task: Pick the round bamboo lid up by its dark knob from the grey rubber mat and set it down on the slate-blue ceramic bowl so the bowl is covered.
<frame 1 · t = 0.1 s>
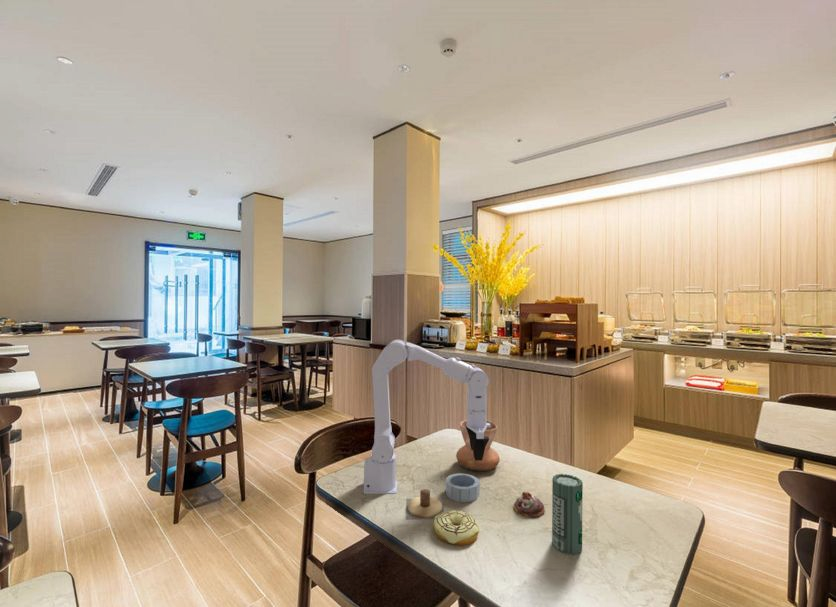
hand: (476, 454, 114), 10 cm above the table, fingers open, 7 cm apart
rubber mat: (425, 509, 102), on the table
pastry: (529, 511, 102), on the table
bamboo lid: (425, 508, 102), resting on rubber mat
can: (566, 546, 87), on the table
decorated donut: (455, 535, 91), on the table
bowl: (462, 494, 110), on the table
ceramic jug: (478, 465, 130), on the table
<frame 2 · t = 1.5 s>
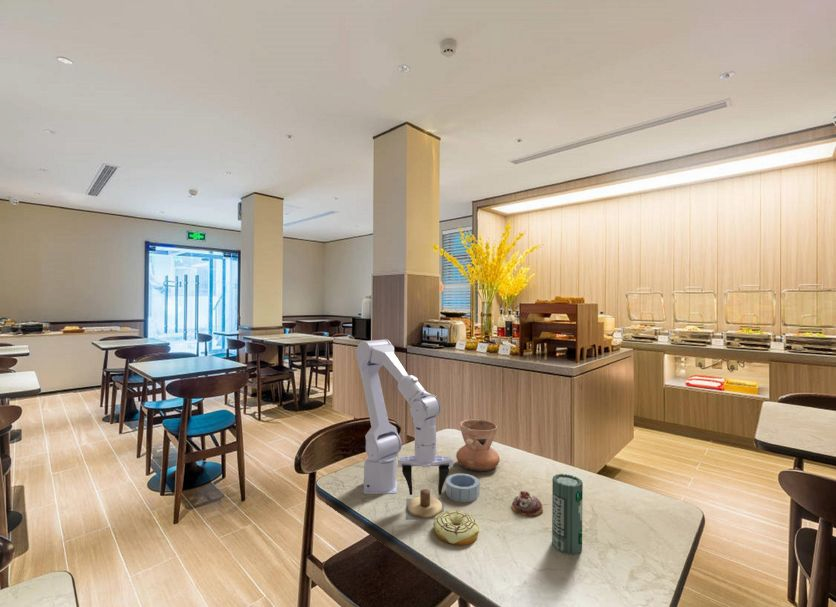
hand: (425, 493, 102), 5 cm above the table, fingers open, 7 cm apart
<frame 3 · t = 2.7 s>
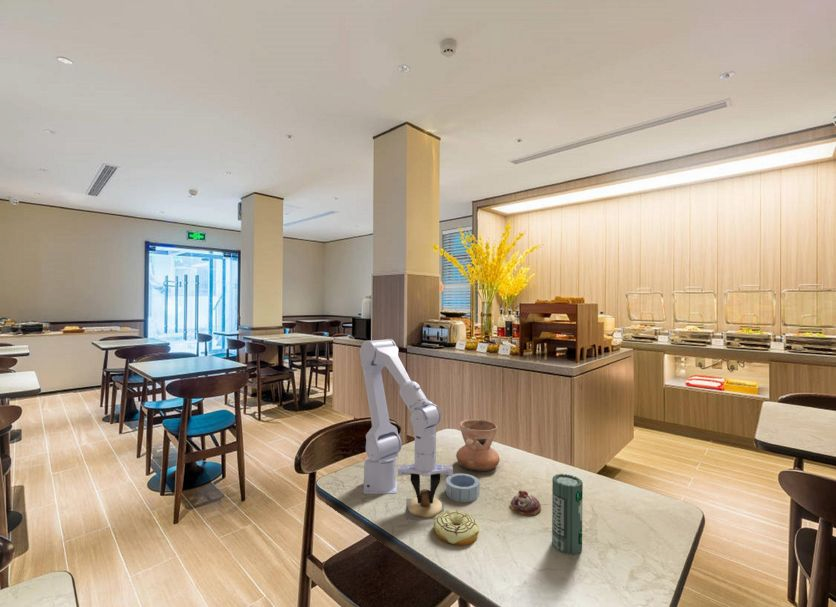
hand: (425, 501, 102), 2 cm above the table, fingers closed on bamboo lid, 3 cm apart
bamboo lid: (425, 508, 102), resting on rubber mat, touching gripper
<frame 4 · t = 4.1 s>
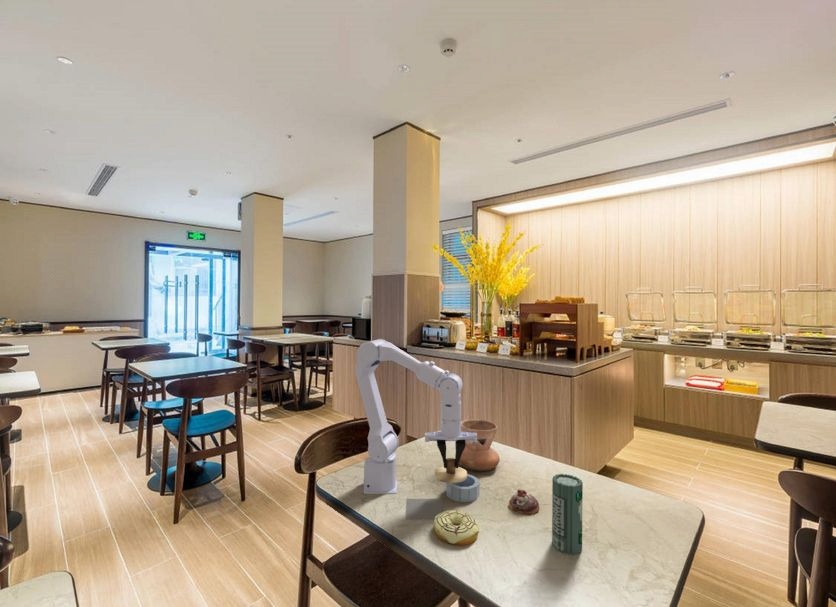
hand: (450, 466, 107), 9 cm above the table, fingers closed on bamboo lid, 3 cm apart
bamboo lid: (450, 475, 107), point 7 cm above the table, touching gripper
when the fingers open (7 cm above the table, at t = 5.4 s): bamboo lid stays where it is, resting on bowl.
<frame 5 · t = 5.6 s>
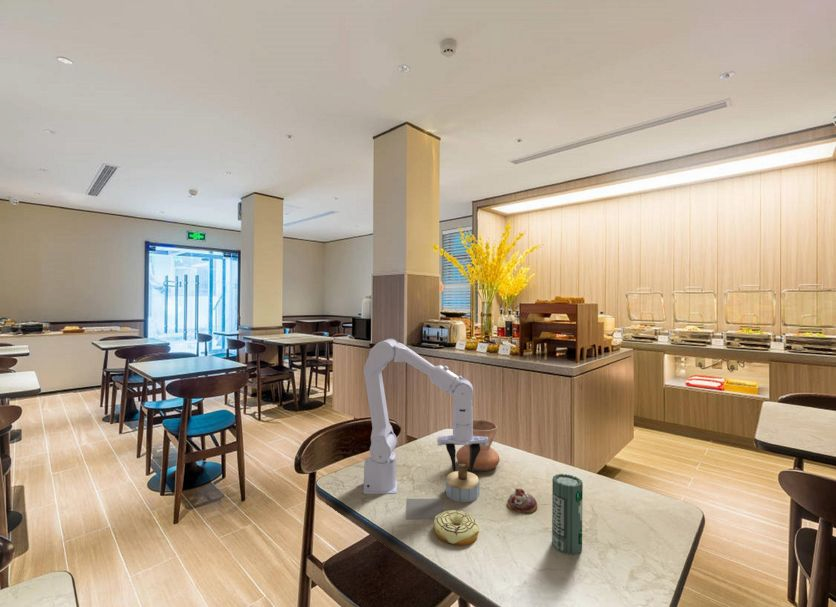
hand: (462, 469, 110), 7 cm above the table, fingers open, 4 cm apart
bamboo lid: (462, 481, 110), point 4 cm above the table, touching bowl
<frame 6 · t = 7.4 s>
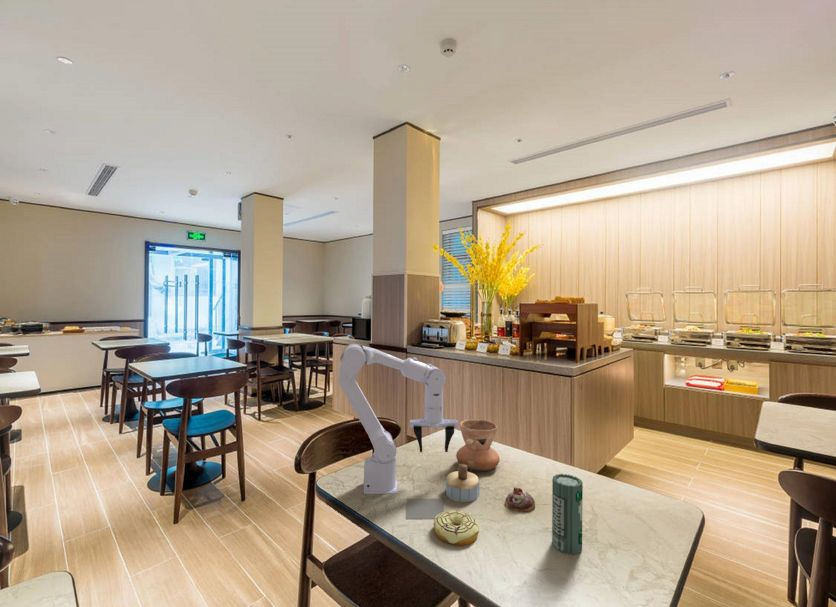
hand: (433, 450, 117), 10 cm above the table, fingers open, 7 cm apart
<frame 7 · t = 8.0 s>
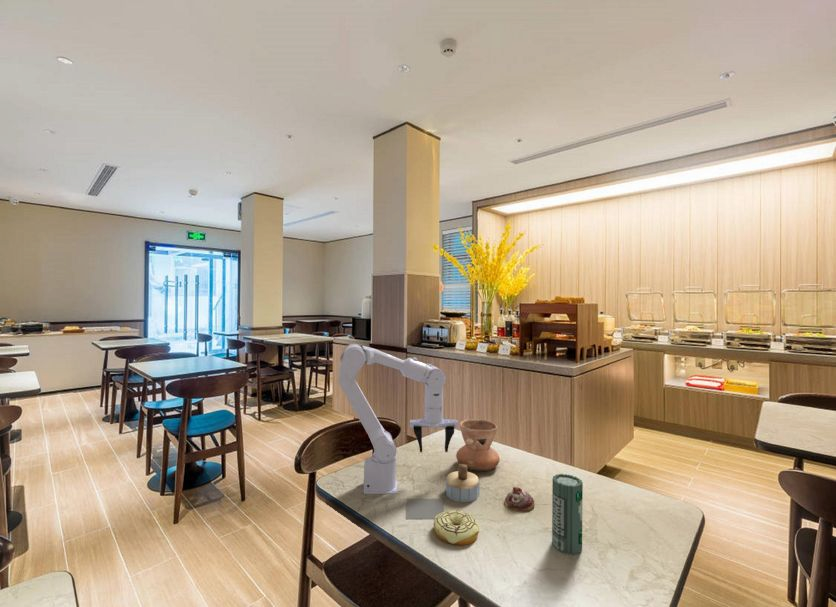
hand: (433, 450, 117), 10 cm above the table, fingers open, 7 cm apart
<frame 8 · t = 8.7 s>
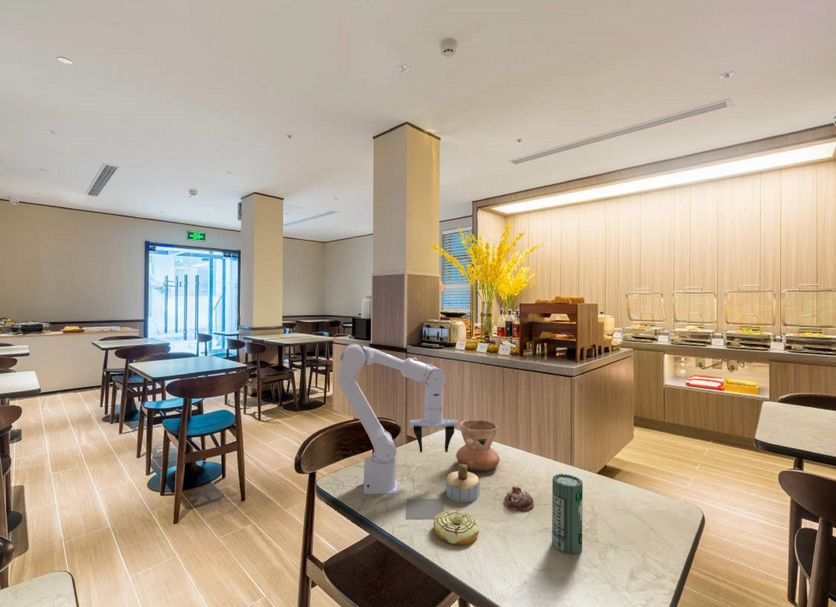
hand: (433, 450, 117), 10 cm above the table, fingers open, 7 cm apart
at the end: bamboo lid 0.4 cm off-centre on the bowl, point 4.0 cm above the bowl's base; bamboo lid tilted 0°; the gripper is holding nothing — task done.
